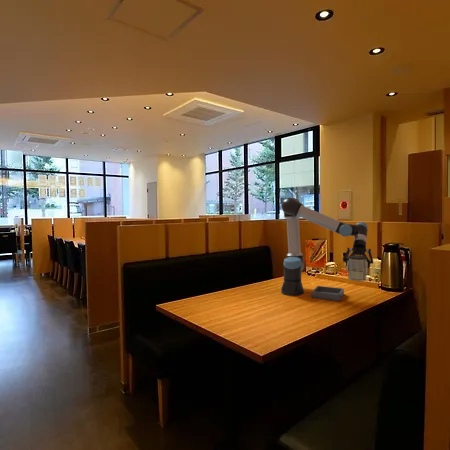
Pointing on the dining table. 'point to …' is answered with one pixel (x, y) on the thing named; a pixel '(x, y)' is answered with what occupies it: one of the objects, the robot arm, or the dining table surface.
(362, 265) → the coffee can
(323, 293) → the tray
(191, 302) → the dining table surface
